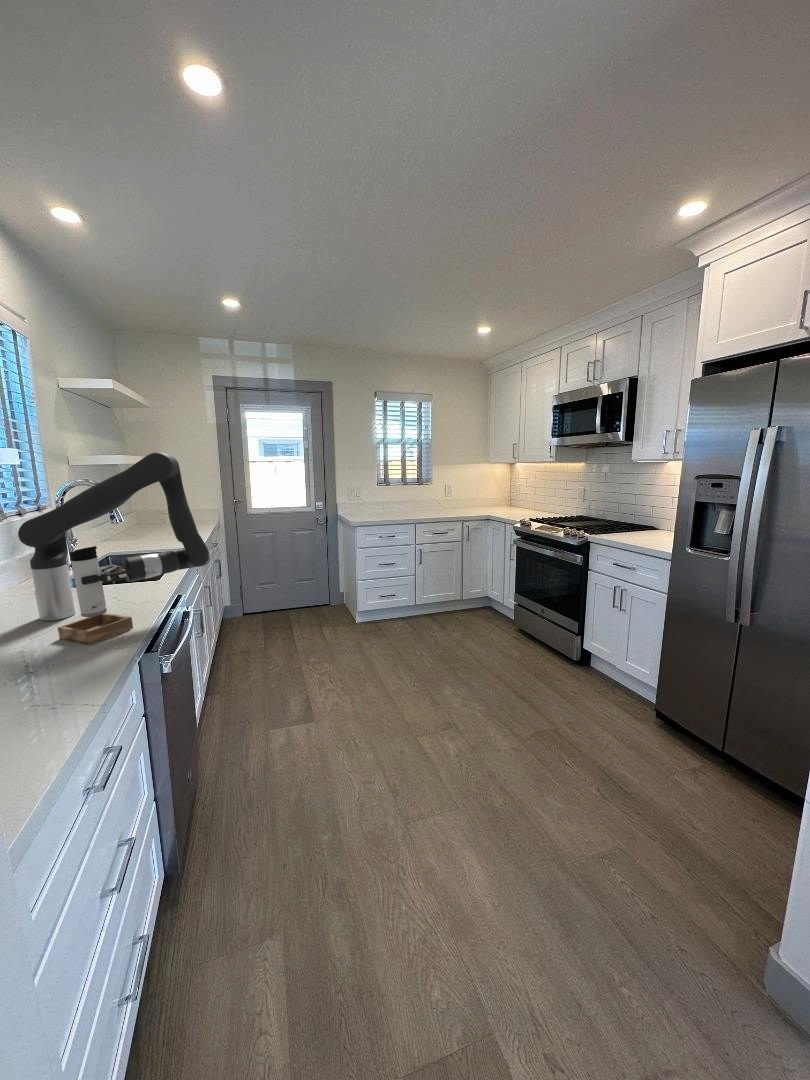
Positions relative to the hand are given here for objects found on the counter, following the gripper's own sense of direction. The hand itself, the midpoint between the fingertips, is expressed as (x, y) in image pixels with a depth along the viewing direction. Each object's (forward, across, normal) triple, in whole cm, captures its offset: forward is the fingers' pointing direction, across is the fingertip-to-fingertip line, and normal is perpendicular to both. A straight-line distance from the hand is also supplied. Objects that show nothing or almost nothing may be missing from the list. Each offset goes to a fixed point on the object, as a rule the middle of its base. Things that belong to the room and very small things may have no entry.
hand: (78, 579), depth 127 cm
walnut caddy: (-2, 0, +17) cm, 17 cm away
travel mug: (-2, 0, +11) cm, 11 cm away
